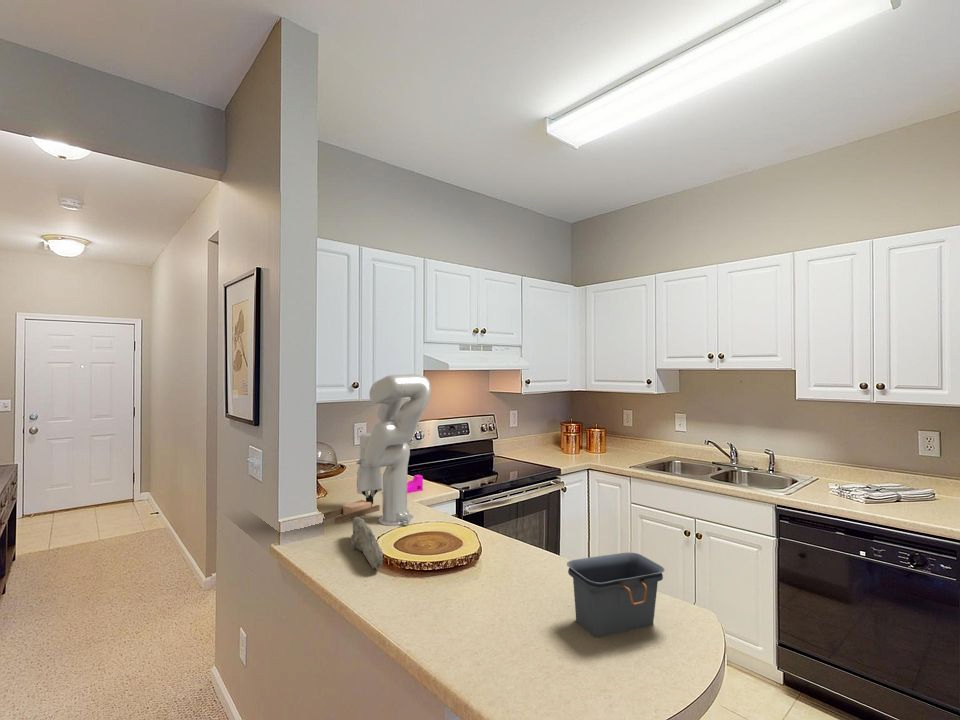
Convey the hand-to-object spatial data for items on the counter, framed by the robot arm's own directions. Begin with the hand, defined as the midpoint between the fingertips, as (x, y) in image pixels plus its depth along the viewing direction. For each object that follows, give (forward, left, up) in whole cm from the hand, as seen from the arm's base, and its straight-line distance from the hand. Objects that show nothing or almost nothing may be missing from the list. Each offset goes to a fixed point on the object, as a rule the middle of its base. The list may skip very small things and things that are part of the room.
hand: (369, 506), depth 210 cm
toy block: (+8, -29, -2) cm, 31 cm away
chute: (0, +9, -2) cm, 10 cm away
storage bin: (-119, +26, -2) cm, 122 cm away
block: (+1, +6, -2) cm, 6 cm away
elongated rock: (-38, +34, -2) cm, 51 cm away
